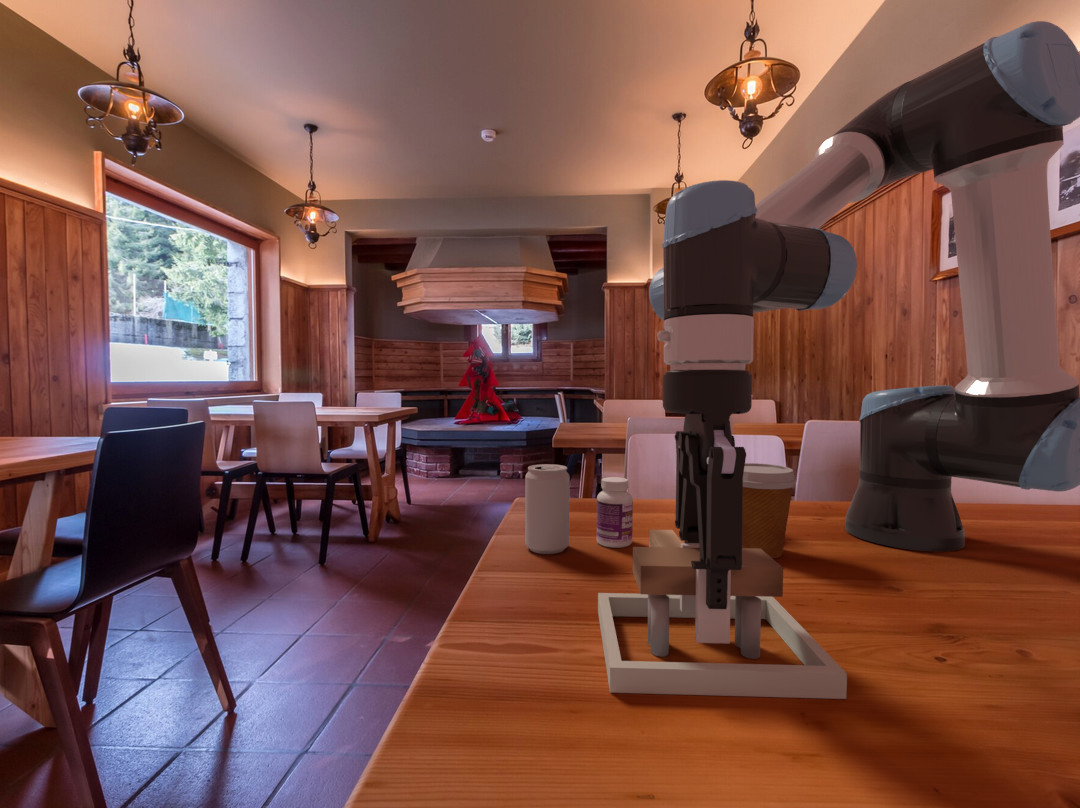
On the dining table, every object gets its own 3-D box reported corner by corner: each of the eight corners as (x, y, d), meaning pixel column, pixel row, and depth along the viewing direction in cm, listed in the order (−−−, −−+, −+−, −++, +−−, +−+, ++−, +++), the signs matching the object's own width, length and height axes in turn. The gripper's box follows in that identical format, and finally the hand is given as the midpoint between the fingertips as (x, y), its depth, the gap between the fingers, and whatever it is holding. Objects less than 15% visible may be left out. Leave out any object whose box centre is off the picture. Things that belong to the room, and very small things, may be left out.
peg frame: (771, 614, 53) (772, 567, 53) (846, 699, 39) (848, 635, 39) (598, 611, 54) (598, 564, 54) (609, 692, 40) (610, 629, 40)
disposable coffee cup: (804, 565, 67) (806, 475, 66) (727, 560, 69) (729, 472, 68) (784, 543, 76) (786, 463, 76) (717, 539, 78) (719, 461, 78)
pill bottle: (630, 550, 73) (630, 483, 73) (593, 546, 75) (593, 481, 74) (634, 539, 78) (634, 476, 78) (600, 536, 80) (600, 475, 79)
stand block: (672, 567, 66) (672, 529, 66) (687, 593, 58) (687, 550, 58) (649, 567, 66) (649, 529, 66) (660, 593, 58) (661, 550, 58)
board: (640, 594, 44) (640, 565, 44) (632, 572, 49) (632, 546, 49) (782, 596, 43) (783, 567, 43) (760, 574, 48) (760, 548, 48)
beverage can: (524, 542, 77) (523, 463, 76) (566, 541, 78) (566, 462, 77) (526, 556, 71) (526, 470, 70) (572, 555, 71) (572, 470, 71)
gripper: (647, 370, 54) (645, 584, 56) (688, 365, 36) (684, 682, 38) (718, 370, 54) (715, 585, 55) (795, 365, 36) (789, 685, 37)
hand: (703, 624), depth 46 cm, fingers closed on board, 5 cm apart
